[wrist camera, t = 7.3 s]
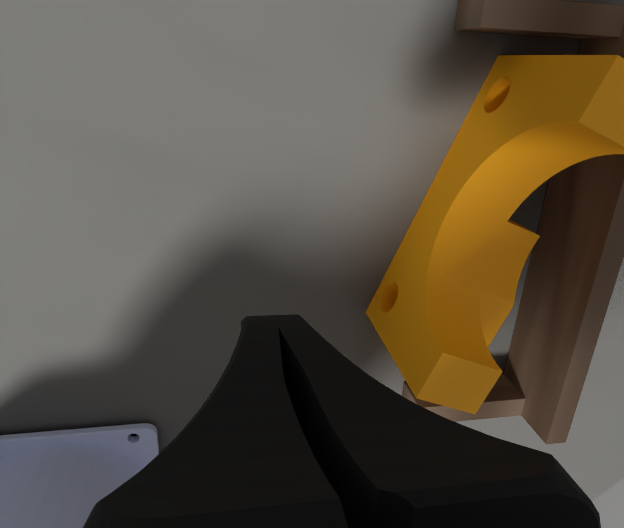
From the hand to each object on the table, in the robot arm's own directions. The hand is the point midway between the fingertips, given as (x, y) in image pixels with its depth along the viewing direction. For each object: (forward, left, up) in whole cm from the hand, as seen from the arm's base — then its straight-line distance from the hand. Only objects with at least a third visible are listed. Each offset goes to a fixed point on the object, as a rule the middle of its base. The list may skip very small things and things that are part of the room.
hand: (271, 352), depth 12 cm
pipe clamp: (+10, +1, -10) cm, 14 cm away
